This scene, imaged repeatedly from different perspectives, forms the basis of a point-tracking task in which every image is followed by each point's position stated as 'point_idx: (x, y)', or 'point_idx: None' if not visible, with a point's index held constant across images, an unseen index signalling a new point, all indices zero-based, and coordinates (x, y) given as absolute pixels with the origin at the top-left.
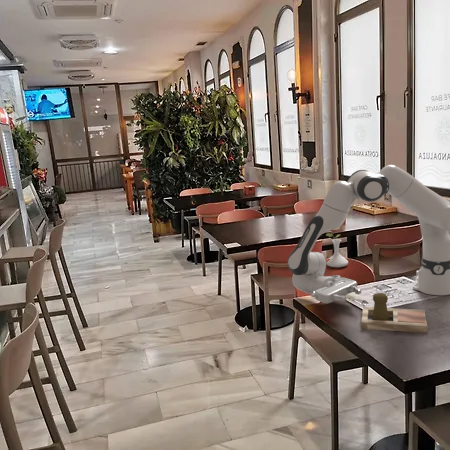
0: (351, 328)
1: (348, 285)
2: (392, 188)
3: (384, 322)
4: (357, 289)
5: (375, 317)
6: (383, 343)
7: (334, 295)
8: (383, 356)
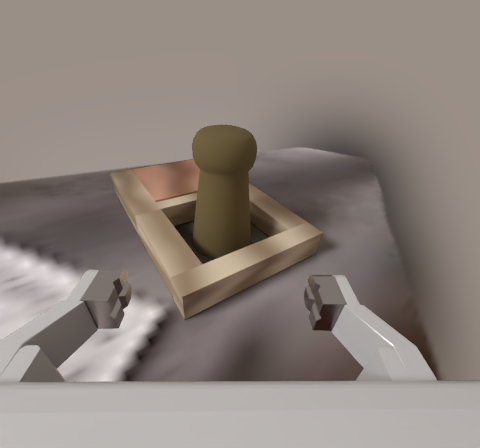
0: (348, 275)
1: (33, 395)
2: None
3: (261, 198)
4: (99, 286)
5: (249, 222)
6: (323, 197)
7: (418, 357)
8: (359, 184)
